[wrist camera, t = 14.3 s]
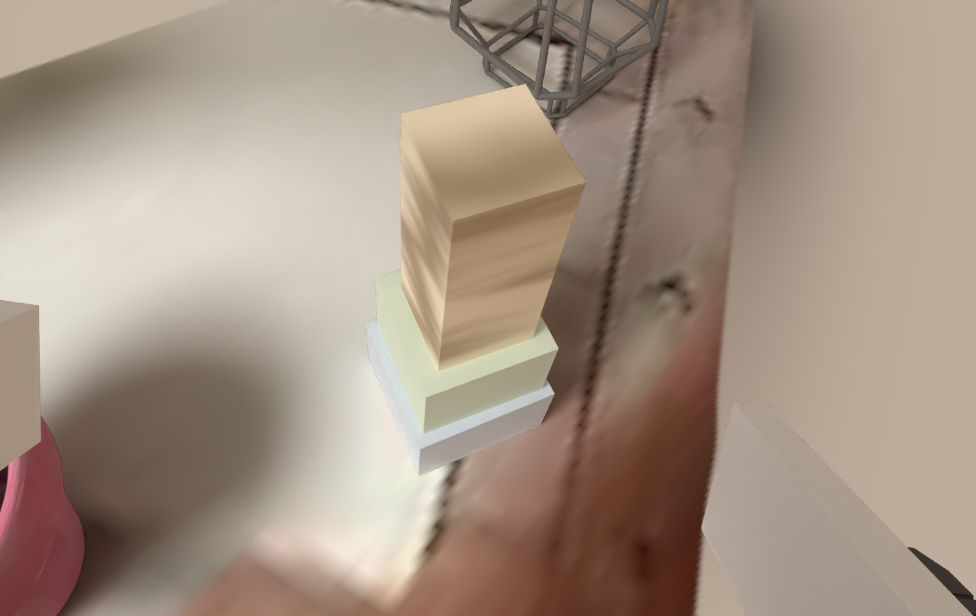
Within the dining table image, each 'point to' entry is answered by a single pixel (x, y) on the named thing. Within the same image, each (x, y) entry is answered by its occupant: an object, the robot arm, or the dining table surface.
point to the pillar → (482, 220)
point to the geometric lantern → (575, 90)
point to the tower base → (459, 435)
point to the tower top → (463, 384)
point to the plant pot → (37, 534)
